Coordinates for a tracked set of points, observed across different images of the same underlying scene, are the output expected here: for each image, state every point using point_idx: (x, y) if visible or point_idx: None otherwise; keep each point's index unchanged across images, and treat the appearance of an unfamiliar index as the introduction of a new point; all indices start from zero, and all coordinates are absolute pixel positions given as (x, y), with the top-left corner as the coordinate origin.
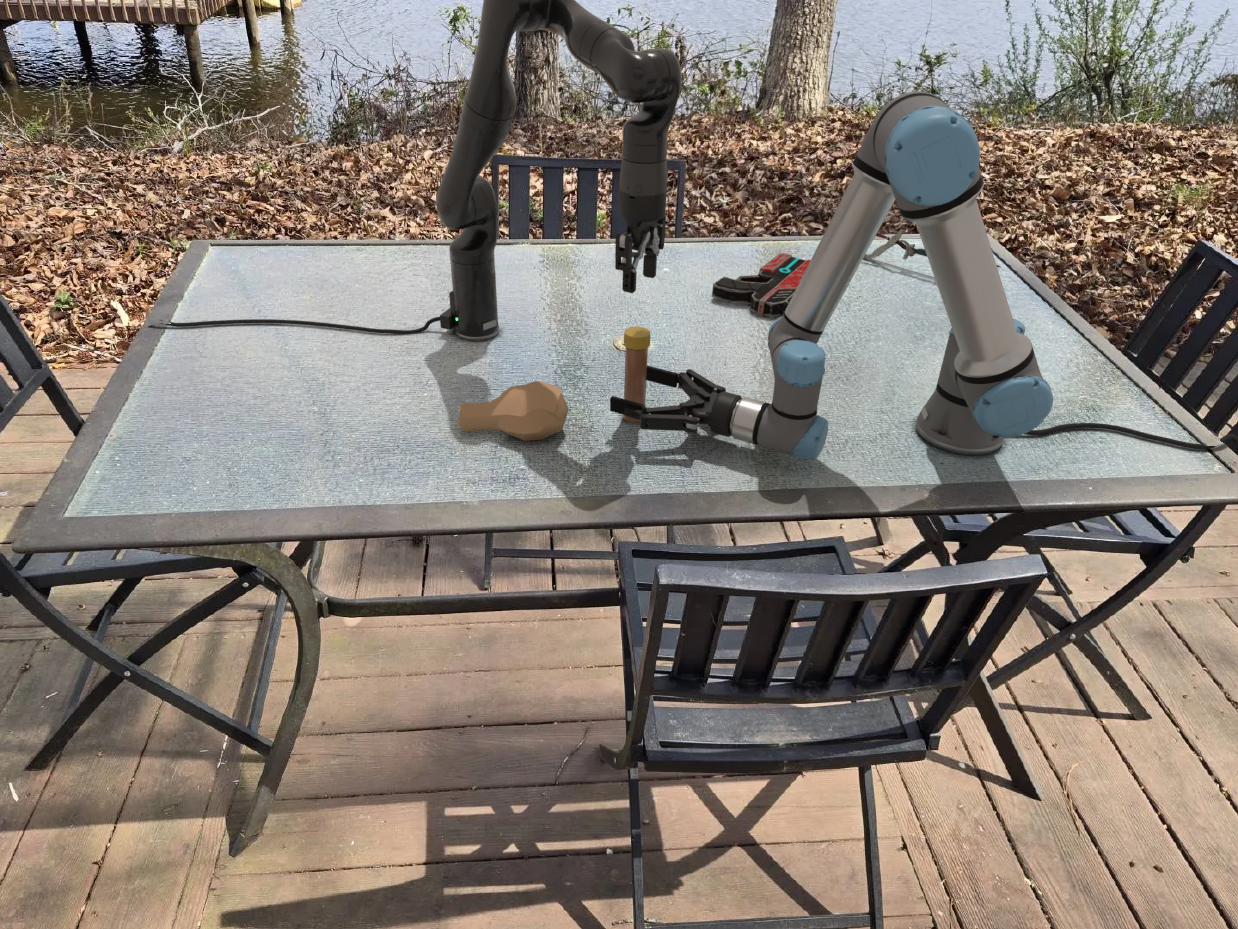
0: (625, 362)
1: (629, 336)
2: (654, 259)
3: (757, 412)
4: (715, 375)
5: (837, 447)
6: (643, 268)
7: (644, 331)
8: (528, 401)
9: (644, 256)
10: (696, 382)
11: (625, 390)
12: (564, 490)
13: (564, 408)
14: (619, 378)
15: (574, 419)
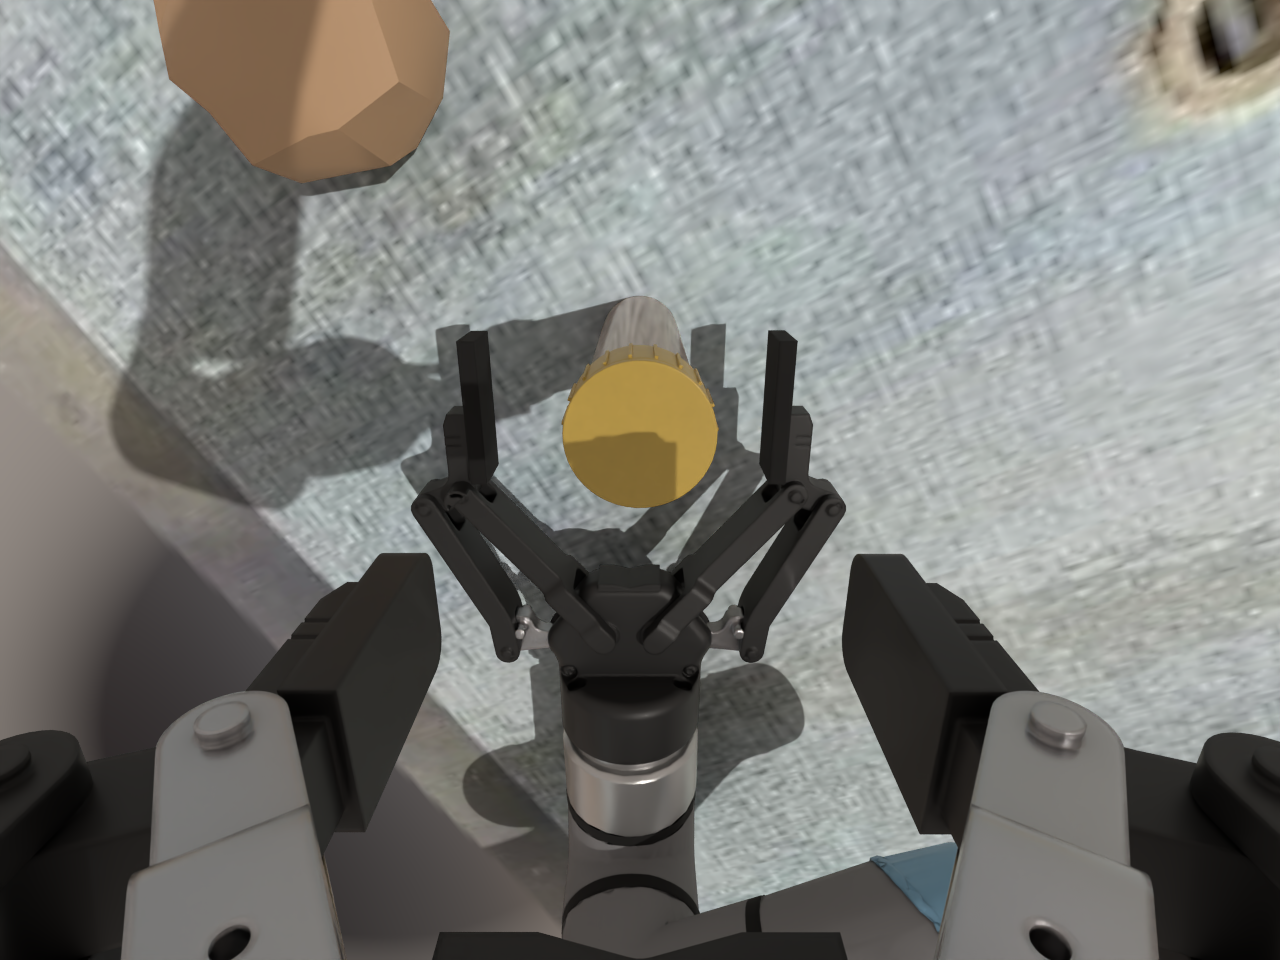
0: (602, 349)
1: (563, 422)
2: (911, 809)
3: (593, 824)
4: (1051, 452)
5: (765, 835)
6: (881, 591)
7: (665, 470)
8: (187, 13)
9: (944, 693)
10: (786, 543)
11: (602, 332)
12: (144, 349)
13: (343, 167)
14: (896, 132)
15: (511, 140)
